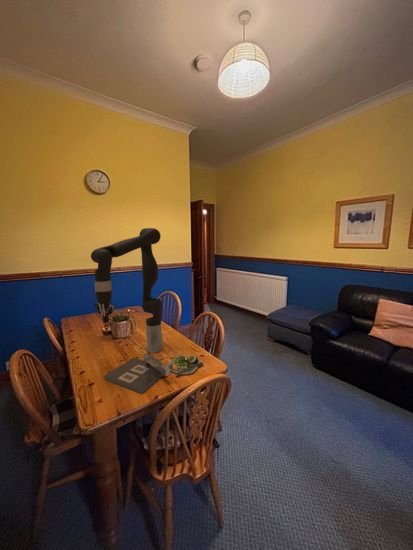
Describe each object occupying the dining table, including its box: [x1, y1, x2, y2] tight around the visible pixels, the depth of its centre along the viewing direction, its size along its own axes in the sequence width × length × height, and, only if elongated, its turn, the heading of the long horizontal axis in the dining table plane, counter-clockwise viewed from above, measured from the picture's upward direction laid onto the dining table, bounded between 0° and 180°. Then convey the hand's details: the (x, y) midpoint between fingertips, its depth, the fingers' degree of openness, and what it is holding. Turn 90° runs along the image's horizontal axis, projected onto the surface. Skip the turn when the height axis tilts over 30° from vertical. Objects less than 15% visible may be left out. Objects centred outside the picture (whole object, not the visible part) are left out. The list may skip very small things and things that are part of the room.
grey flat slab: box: [104, 357, 165, 395], centre depth 118 cm, size 20×24×4 cm
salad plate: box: [166, 354, 204, 377], centre depth 125 cm, size 19×18×5 cm
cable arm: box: [143, 352, 171, 376], centre depth 118 cm, size 21×4×3 cm, turn 45°
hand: (105, 322), depth 117 cm, fingers closed
